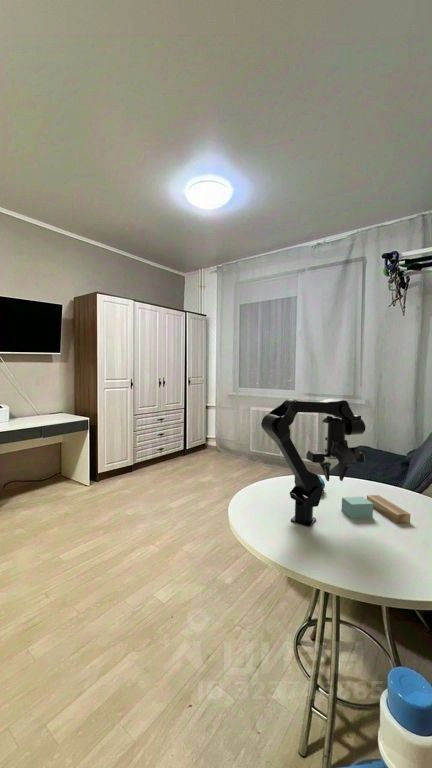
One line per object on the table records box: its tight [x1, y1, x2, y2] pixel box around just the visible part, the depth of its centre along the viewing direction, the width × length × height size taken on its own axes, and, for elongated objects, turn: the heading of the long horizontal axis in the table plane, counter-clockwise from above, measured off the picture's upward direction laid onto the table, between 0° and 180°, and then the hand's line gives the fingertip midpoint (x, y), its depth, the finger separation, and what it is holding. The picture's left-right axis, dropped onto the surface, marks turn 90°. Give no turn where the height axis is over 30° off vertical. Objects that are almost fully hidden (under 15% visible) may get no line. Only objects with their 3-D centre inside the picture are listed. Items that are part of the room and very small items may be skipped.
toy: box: [317, 474, 326, 492], centre depth 134 cm, size 8×8×15 cm
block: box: [341, 496, 374, 519], centre depth 112 cm, size 8×6×5 cm
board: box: [366, 494, 411, 525], centre depth 114 cm, size 5×16×3 cm, turn 9°
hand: (334, 480), depth 110 cm, fingers open, 5 cm apart
